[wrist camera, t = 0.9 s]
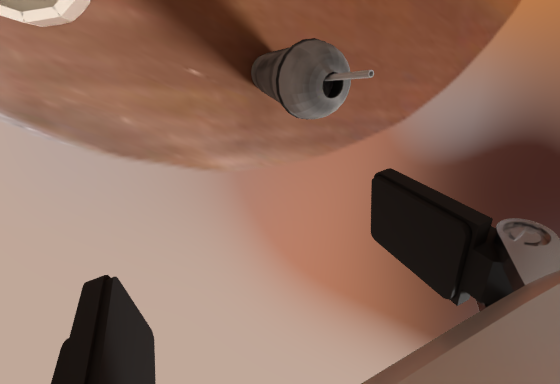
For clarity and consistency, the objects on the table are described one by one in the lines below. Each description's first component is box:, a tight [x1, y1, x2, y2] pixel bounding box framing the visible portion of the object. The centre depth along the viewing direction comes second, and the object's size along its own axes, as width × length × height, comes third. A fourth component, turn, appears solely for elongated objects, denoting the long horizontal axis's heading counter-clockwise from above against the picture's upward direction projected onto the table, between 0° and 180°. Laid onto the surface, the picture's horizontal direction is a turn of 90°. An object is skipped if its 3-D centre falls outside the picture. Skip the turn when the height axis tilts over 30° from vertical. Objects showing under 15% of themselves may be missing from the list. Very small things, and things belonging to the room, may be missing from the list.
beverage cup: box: [251, 38, 374, 119], centre depth 28 cm, size 7×7×20 cm
